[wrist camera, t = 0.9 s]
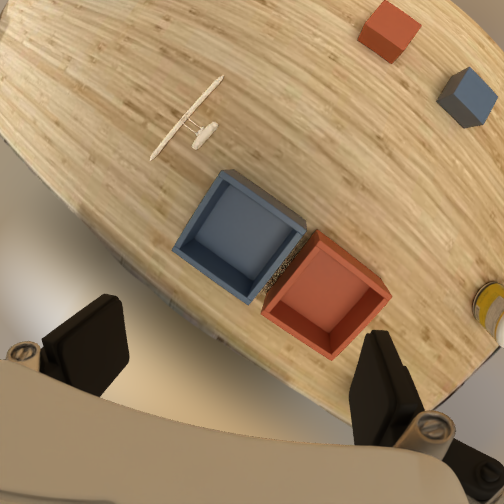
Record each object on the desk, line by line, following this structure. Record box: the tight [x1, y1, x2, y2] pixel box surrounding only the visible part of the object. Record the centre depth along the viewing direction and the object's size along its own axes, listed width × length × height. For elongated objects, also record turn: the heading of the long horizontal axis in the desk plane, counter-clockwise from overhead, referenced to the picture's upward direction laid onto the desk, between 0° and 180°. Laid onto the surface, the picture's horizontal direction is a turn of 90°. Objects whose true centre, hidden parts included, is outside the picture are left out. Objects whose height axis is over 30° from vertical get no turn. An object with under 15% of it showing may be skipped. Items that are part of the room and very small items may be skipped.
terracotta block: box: [358, 0, 422, 64], centre depth 25 cm, size 5×5×5 cm
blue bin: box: [172, 170, 307, 305], centre depth 34 cm, size 10×10×6 cm
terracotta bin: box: [261, 229, 392, 361], centre depth 35 cm, size 10×10×6 cm
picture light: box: [150, 75, 224, 161], centre depth 33 cm, size 14×4×2 cm, turn 137°
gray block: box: [436, 67, 498, 128], centre depth 26 cm, size 5×5×5 cm
